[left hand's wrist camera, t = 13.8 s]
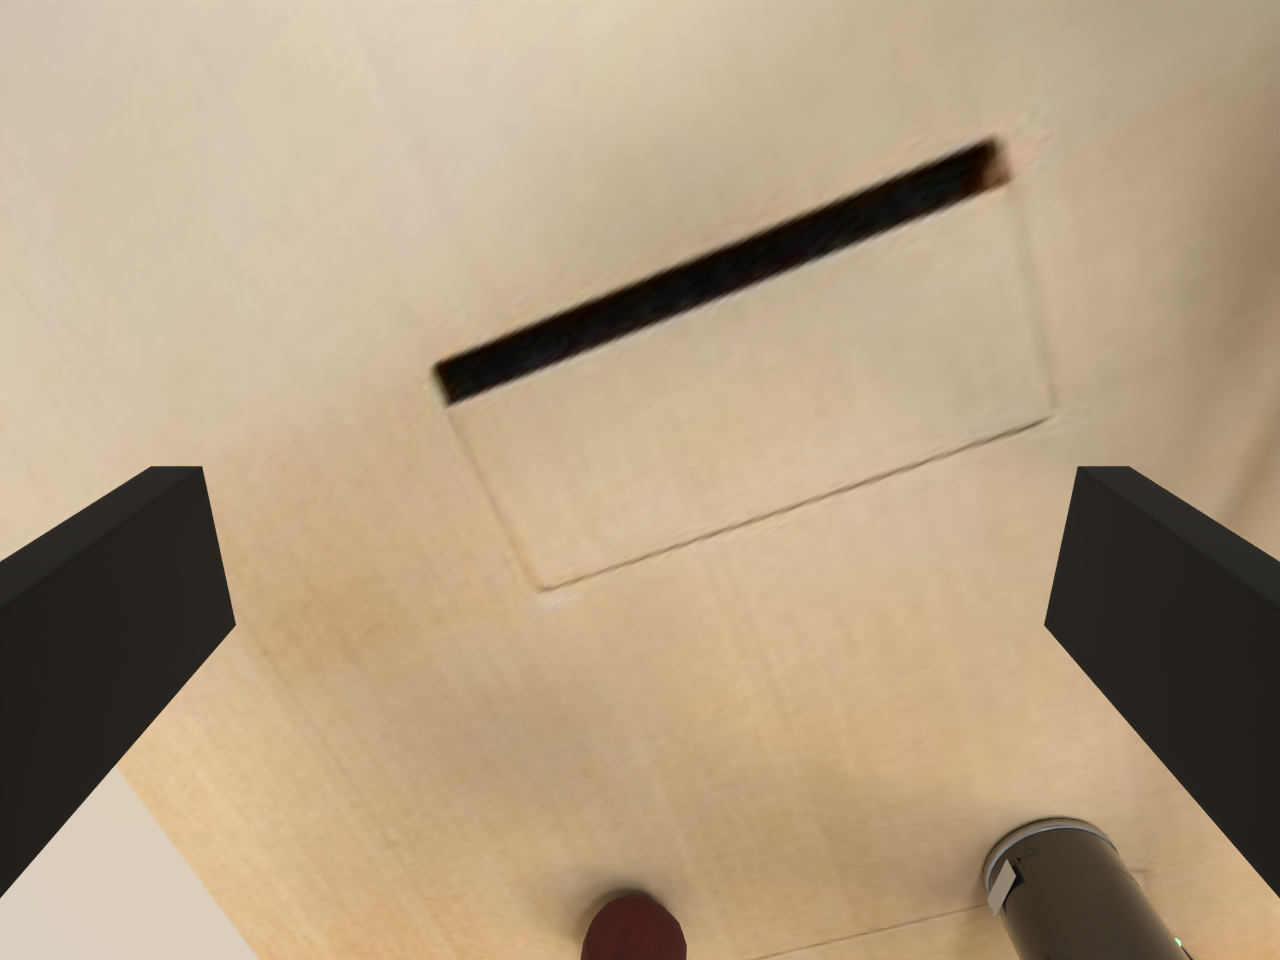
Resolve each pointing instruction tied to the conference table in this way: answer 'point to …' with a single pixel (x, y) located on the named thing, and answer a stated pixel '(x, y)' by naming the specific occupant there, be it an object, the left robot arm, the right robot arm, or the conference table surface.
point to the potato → (634, 932)
